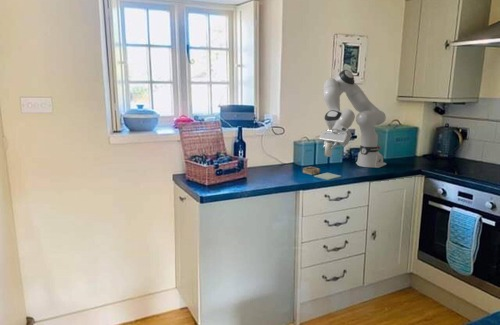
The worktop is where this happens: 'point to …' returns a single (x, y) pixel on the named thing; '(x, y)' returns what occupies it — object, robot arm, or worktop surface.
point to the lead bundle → (328, 149)
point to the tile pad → (327, 176)
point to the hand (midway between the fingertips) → (327, 148)
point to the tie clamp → (311, 170)
